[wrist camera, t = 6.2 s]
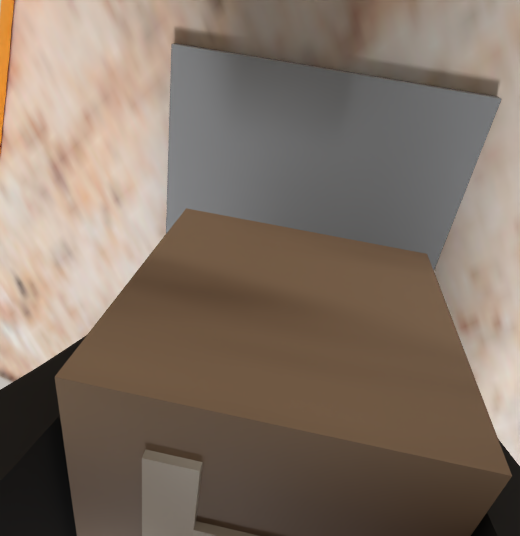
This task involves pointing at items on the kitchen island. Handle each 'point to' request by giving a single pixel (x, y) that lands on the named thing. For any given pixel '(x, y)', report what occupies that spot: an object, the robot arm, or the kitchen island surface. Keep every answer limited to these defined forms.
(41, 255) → the kitchen island surface
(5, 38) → the supplement box
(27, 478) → the robot arm
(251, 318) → the walnut letter cube
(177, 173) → the grey flat square slab
